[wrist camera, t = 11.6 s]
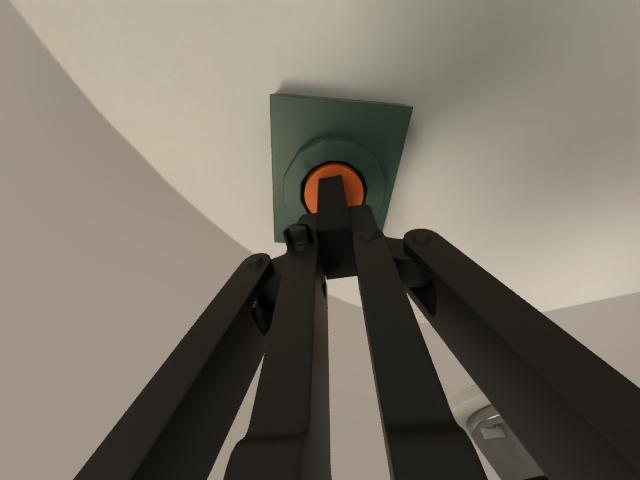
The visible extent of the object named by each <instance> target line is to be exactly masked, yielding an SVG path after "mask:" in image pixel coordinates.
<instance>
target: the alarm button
mask: <svg viewBox="0 0 640 480" xmlns="http://www.w3.org/2000/svg"><path fill="white" fill-rule="evenodd" d="M336 175H342V179H343V184H344V190H345V195H346V200H347V206H348V207H349V206H355V205H361V203H362V201H363V195H364V191H363V186H362V183H361V180H360V177H359V175H358V173H357V171H356V170H355V169H354V167H352V166H351V165H350V164H348V163H347V162H342V161H330V160H328V161H326V162H323V163H321V164H319V165H317V166H315V167H314V168H313V169H312V170H311V171H310V173H309V175H308V177H307V181H306V186H305V192H304V198H305V202H306V205H307V207H308V209H309V210H310V211H311V213H316V212H317V197H318V180H319V179H320V178H325V177H331V176H336Z"/></svg>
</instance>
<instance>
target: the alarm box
mask: <svg viewBox="0 0 640 480" xmlns="http://www.w3.org/2000/svg"><path fill="white" fill-rule="evenodd" d="M412 110H413V107H412V106H408V105H405V104H397V103H386V102H374V101H363V100H351V99H340V98H328V97H317V96H306V95H294V94H283V93H274V94H270V116H271V147H272V179H273V210H274V241H275V242H281V243H286V242H285V239H284V236H283V233H282V232H283V230H284V229H285V228H286V227H288V226H289V225H291V224H294V223H297V222H298V219H299V218H300V217H301V216H302V215H304V214H310V213H311V211H310V210H309V209H308V207H307V205H306V202H305V198H304V192H305V186H306V181H307V177H308V175H309V173H310V171H311V170H312V169H313V168H314V167H315V166H317V165H319V164H321V163H323V162H326V161H328V160H330V161H342V162H347V163H348V164H350V165H351V166H352V167H354V169H355V170H356V171H357V173H358V175H359V177H360V180H361V183H362V186H363V191H364V195H363V201H362V203H361V204H367V205H368V206H370V207H371V209H372V212H373V215H374V218H375V220H376V223H377V226H378V228H379V230H381V231H382V230H383V226H384V222H385V218H386V214H387V210H388V206H389V202H390V198H391V194H392V190H393V186H394V182H395V178H396V174H397V170H398V166H399V162H400V158H401V154H402V150H403V146H404V142H405V138H406V134H407V130H408V126H409V122H410V118H411V114H412Z"/></svg>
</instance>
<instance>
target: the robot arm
mask: <svg viewBox="0 0 640 480" xmlns="http://www.w3.org/2000/svg"><path fill="white" fill-rule="evenodd" d="M282 233H283V236H284V239H285V242H286V245H287V252H286V253H285V254H284V255H282V256H279V257H277V258H274V259H271V258H270V256H269V255H268V254H265V253H259V254H254V255H251V256H250V257H248V258H246V259H245V260H244V261H243V262H242V263H241V264H240V266H239V267H238V268H237V269H236V271H235V272H234V273H233V275H232V276H231V277H230V279H229V280H228V281H227V282H226V284H225V285H224V286H223V288H222V289H221V290H220V291H219V293H218V294H217V295H216V296H215V298H214V299H213V300H212V302H211V303H210V304H209V305H208V307H207V308H206V309H205V311H204V312H203V313H202V314H201V316H200V317H199V318H198V320H197V321H196V322H195V323H194V325H193V326H192V327H191V329H190V330H189V331H188V333H187V334H186V335H185V336H184V338H183V339H182V340H181V341H180V343H179V344H178V345H177V347H176V348H175V349H174V350H173V352H172V353H171V354H170V356H169V357H168V358H167V359H166V361H165V362H164V363H163V365H162V366H161V367H160V368H159V370H158V371H157V372H156V374H155V375H154V376H153V378H152V379H151V380H150V381H149V383H148V384H147V385H146V386H145V388H144V389H143V390H142V392H141V393H140V394H139V395H138V397H137V398H136V399H135V401H134V402H133V403H132V404H131V406H130V407H129V408H128V410H127V411H126V412H125V413H124V415H123V416H122V417H121V419H120V420H119V421H118V422H117V424H116V425H115V426H114V428H113V429H112V431H111V432H110V433H109V434H108V435H107V437H106V438H105V439H104V441H103V442H102V443H101V444H100V446H99V447H98V448H97V449H96V451H95V452H94V453H93V455H92V456H91V457H90V458H89V460H88V461H87V462H86V464H85V465H84V466H83V468H82V469H81V470H80V471H79V473H78V474H77V475H76V477H75V478H74V479H73V480H207V478H208V476H209V474H210V472H211V470H212V467H213V465H214V463H215V461H216V459H217V456H218V454H219V452H220V450H221V447H222V445H223V443H224V441H225V439H226V437H227V434H228V432H229V430H230V428H231V426H232V423H233V421H234V419H235V417H236V414H237V412H238V410H239V408H240V406H241V404H242V401H243V399H244V397H245V395H246V393H247V390H248V388H249V386H250V384H251V382H252V380H253V377H254V375H255V373H256V371H257V369H258V366H259V364H260V362H261V360H262V357H263V355H264V359H263V364H262V368H261V373H260V378H259V382H258V387H257V392H256V397H255V401H254V406H253V410H252V415H251V420H250V424H249V428H248V431H247V433H246V435H245V437H244V438H243V439H241V440H240V441H239V442H238V443H237V444H236V445H235V447H234V449H233V451H232V453H231V455H230V459H229V461H228V465H227V468H226V472H225V476H224V479H223V480H332V479H331V465H330V415H329V414H330V412H329V359H328V358H329V357H328V306H327V305H328V304H327V284H326V280H325V275H326V279H327V280H328V279H336V278H344V277H351V276H358V283H359V290H360V295H361V302H362V308H363V314H364V320H365V326H366V332H367V338H368V344H369V350H370V356H371V362H372V368H373V374H374V381H375V386H376V393H377V399H378V405H379V411H380V417H381V423H382V429H383V435H384V440H385V447H386V453H387V460H388V466H389V472H390V479H391V480H488V479H487V476H486V474H485V472H484V469H483V467H482V464H481V462H480V459H479V457H478V455H477V452H476V450H475V448H474V446H473V444H472V441H471V440H470V438H469V436H468V435H467V433H466V431H465V430H464V429H463V428H462V427H461V426H459V425H458V424H457V422H456V420H455V418H454V416H453V414H452V412H451V409H450V406H449V404H448V401H447V398H446V396H445V393H444V391H443V388H442V385H441V383H440V380H439V378H438V375H437V372H436V370H435V367H434V364H433V362H432V359H431V357H430V354H429V351H428V349H427V346H426V343H425V341H424V338H423V336H422V333H421V330H420V328H419V325H418V322H417V320H416V317H415V315H414V312H413V309H412V307H411V304H410V301H409V299H408V296H407V294H408V295H409V296H410V298H411V299H412V300H413V302H414V303H415V304H416V305H417V307H418V308H419V309H420V311H421V312H422V313H423V315H424V316H425V317H426V319H427V320H428V321H429V323H430V324H431V325H432V327H433V328H434V329H435V330H436V332H437V333H438V334H439V336H440V337H441V338H442V340H443V341H444V342H445V344H446V345H447V346H448V348H449V349H450V350H451V352H452V353H453V354H454V355H455V357H456V358H457V359H458V361H459V362H460V363H461V365H462V366H463V367H464V368H465V370H466V371H467V372H468V374H469V375H470V376H471V378H472V379H473V380H474V381H475V383H476V384H477V386H478V387H479V388H480V390H481V391H482V392H483V394H484V395H485V396H486V398H487V399H488V400H489V402H490V403H491V404H490V405H487V406H485V407H483V408H481V409H479V410H477V411H476V412H474V413H473V414H472V415H471V416H470V417H469V418H468V420H467V422H466V425H467V428H468V430H469V433H470V435H471V438H472V439H473V441H474V442H475V444H476V445H477V446H478V448H479V449H480V451H481V452H482V453H483V455H484V456H485V457H486V459H487V460H488V462H489V463H490V465H491V466H492V467H493V469H494V470H495V472H496V473H497V474H498V476H499V477H500V479H501V480H640V388H638V387H637V386H636V385H635V384H634V383H632V382H631V381H630V380H628V379H627V378H626V377H624V376H623V375H622V374H620V373H619V372H618V371H617V370H615V369H614V368H613V367H611V366H610V365H609V364H607V363H606V362H605V361H603V360H602V359H601V358H599V357H598V356H597V355H595V354H594V353H593V352H592V351H590V350H589V349H587V348H586V347H585V346H584V345H583V344H581V343H580V342H579V341H577V340H576V339H575V338H573V337H572V336H571V335H569V334H568V333H567V332H566V331H564V330H563V329H562V328H560V327H559V326H558V325H556V324H555V323H554V322H552V321H551V320H550V319H549V318H547V317H546V316H545V315H543V314H542V313H541V312H539V311H538V310H537V309H535V308H534V307H533V306H532V305H530V304H529V303H528V302H526V301H525V300H524V299H522V298H521V297H520V296H518V295H517V294H516V293H515V292H513V291H512V290H511V289H509V288H508V287H507V286H505V285H504V284H503V283H501V282H500V281H499V280H498V279H496V278H495V277H494V276H492V275H491V274H490V273H488V272H487V271H486V270H484V269H483V268H482V267H481V266H479V265H478V264H477V263H475V262H474V261H473V260H471V259H470V258H469V257H467V256H466V255H465V254H464V253H462V252H461V251H460V250H458V249H457V248H456V247H454V246H453V245H452V244H450V243H449V242H448V241H447V240H445V239H444V238H443V237H441V236H440V235H439V234H437V233H436V232H434V231H432V230H428V229H414V230H411V231H409V232H407V233H406V234H405V235H404V239H395V238H389V237H386V236H384V233H383V232H382V231H381V230H379V228H378V226H377V223H376V220H375V218H374V215H373V212H372V209H371V207H370V206H368V205H367V204H361V205H355V206H349V207H348V206H347V200H346V195H345V190H344V184H343V179H342V175H336V176H331V177H325V178H320V179H319V180H318V197H317V212H316V213H310V214H304V215H302V216H301V217H300V218H299V219H298V222H297V223H294V224H291V225H289V226H288V227H286V228H285V229H284V230H283V232H282ZM406 292H407V294H406ZM254 302H255V303H254ZM253 304H254V305H253ZM264 353H265V354H264Z"/></svg>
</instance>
